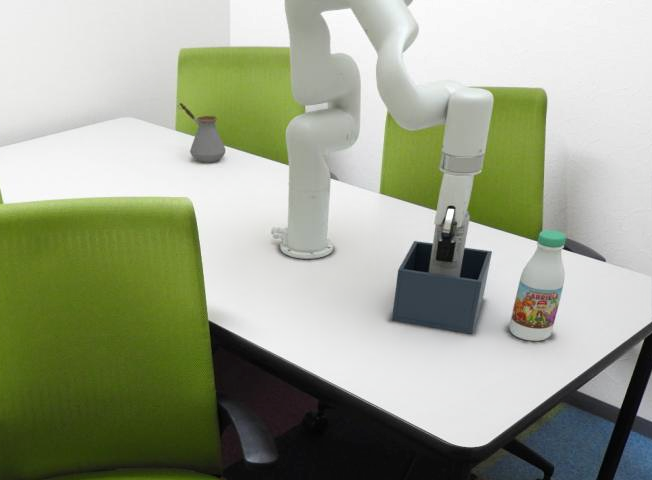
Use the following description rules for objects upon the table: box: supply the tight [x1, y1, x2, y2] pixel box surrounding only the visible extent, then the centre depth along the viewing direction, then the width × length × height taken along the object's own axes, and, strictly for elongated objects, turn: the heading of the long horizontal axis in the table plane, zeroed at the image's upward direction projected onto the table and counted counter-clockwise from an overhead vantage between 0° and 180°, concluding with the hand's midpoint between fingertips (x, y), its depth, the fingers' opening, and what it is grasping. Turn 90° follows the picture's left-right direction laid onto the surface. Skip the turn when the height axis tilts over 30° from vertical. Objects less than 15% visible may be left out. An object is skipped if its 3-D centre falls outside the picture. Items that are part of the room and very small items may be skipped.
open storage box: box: [391, 240, 493, 335], centre depth 152 cm, size 16×16×11 cm
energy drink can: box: [429, 207, 471, 277], centre depth 147 cm, size 6×6×15 cm
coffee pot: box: [177, 102, 226, 164], centre depth 244 cm, size 21×12×15 cm, turn 35°
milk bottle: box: [509, 229, 567, 342], centre depth 141 cm, size 8×8×20 cm
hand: (447, 253), depth 148 cm, fingers closed on energy drink can, 6 cm apart
